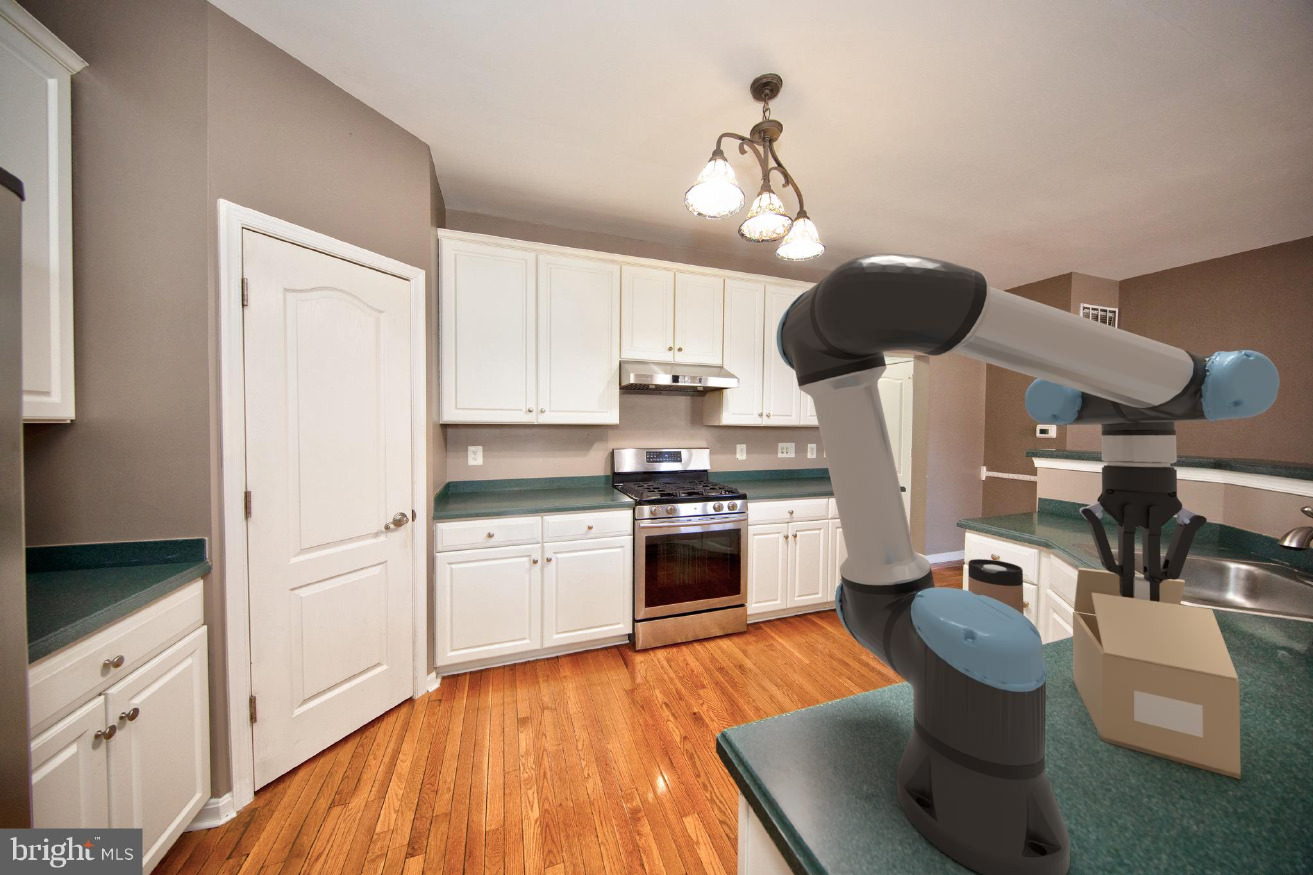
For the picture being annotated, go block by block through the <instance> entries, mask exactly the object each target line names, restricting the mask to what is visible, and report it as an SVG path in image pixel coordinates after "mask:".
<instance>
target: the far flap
mask: <svg viewBox="0 0 1313 875" xmlns="http://www.w3.org/2000/svg"><path fill="white" fill-rule="evenodd" d="M1135 576H1136V577H1143V578H1144V575H1143V574H1136V573H1135ZM1185 585H1186V581H1185V579H1180V578H1178V579H1177V580H1172V579H1169V580H1163V581H1162V582H1161V583H1160V601H1159V602H1163V603H1170V604H1177V605H1182V599H1183V594H1184V590H1185ZM1092 593H1099V594H1106V595H1113V596H1120V597H1122V596H1121V594H1120V586H1119V575H1118V574H1115V573H1112V572H1109V571H1108V570H1103V569H1094V568H1084V567H1078V568H1077V576H1076V587H1075V594H1074V595H1075V596H1074V604H1073V612H1077V613H1084V614H1090V615H1096V614H1095V609H1094V604H1093V599H1092V595H1091V594H1092Z"/></svg>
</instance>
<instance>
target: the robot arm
mask: <svg viewBox="0 0 1313 875" xmlns="http://www.w3.org/2000/svg"><path fill="white" fill-rule="evenodd" d="M776 346H777V351H778V353H779V355H780V357H781V359H782V360H783V362H784V363H785V365H786V366H788V367H789V368H790V369H792V370H793V371H794V372H795V376H796V377H795V378H796V380H797V385H798V390H800V391H802V392H804V394H806V395H808V396H810V398H811V399H812V401H813V406H814V410H815V414H816V415H815V416H816V419H817V423H818V427H819V433H820V437H821V442H822V447H823V450H824V455H825V460H826V464H827V468H828V472H829V473H828V474H829V477H830V481H831V486H832V487H831V488H832V491H833V495H834V500H835V504H836V509H837V514H838V517H839V524H840V527H841V530H842V531H841V532H842V535H843V540H844V543H845V549H846V554H847V557H846V559H844V561H842V563H841V564H840V566H839V573H840V577H841V578H840V579H839V580H840V583H839V585H837V586H836V588H835V594H834V603H835V604H834V605H835V609H836V614H837V615H838V619H839V621H840V623H841V624H842V626H843V627H844V628H845V630H846V631H847V632H848V633H849V635H850V636H851V637H852V638H853V639H854V640H855V641H856V643H858V644H859V645H860V646H861V647H863V648H865V649H866V650H867V651H869V652H870V653H871V654H872V655H874V656H875V657H876V658H877V659H879V660H880V661H881V662H882V663H883V664H885V665H886V666H888V667H889V668H890V670H892V671H894V673H896V674H897V675H898V676H900V677H901V678H902V679H903V680H905V682H907V683H908V684H909V685H911V687H912V690H913V694H912V695H913V700H912V701H913V728H912V730H911V733H910V736H909V738H908V741H907V743H906V746H905V748H904V751H903V753H902V755H901V758H900V760H899V763H898V766H897V770H896V771H897V772H896V792H897V798H898V802H899V804H900V807H901V809H902V811H903V813H904V814H905V816H906V817H907V819H908V821H909V822H910V823H911V824H912V825H913V826H914V828H915V829H916V830H917V831H918V832H919V833H920V834H921V835H922V836H923V837H925V839H926V840H927V841H928V842H929V843H930V844H932V845H933V846H934V847H936V848H937V849H938V850H939V851H941V852H942V853H943V854H945V855H946V856H948V857H949V858H951V859H953V860H955V861H956V862H958V863H959V864H961V865H963V866H964V867H966V868H969V869H970V870H972V871H975V872H977V873H978V874H981V875H1067V873H1068V872H1069V869H1070V866H1071V863H1070V862H1071V856H1070V855H1071V854H1070V853H1071V852H1070V851H1071V850H1070V849H1071V848H1070V847H1071V846H1070V845H1071V844H1070V837H1069V836H1070V835H1069V832H1068V829H1067V826H1066V822H1065V820H1064V817H1063V814H1062V812H1061V810H1060V807H1059V804H1058V802H1057V798H1056V797H1055V794H1054V791H1053V789H1052V786H1051V783H1050V781H1049V778H1048V775H1047V773H1046V753H1045V752H1046V697H1047V696H1046V695H1047V694H1046V693H1047V692H1046V682H1047V681H1046V679H1047V673H1048V672H1047V663H1046V660H1045V658H1044V648H1043V640H1042V636H1041V634H1040V632H1039V630H1038V628H1037V627H1036V625H1035V624H1034V623H1033V622H1032V621H1031V620H1030V619H1029V618H1028V617H1027V616H1025V614H1024V615H1023V614H1022V613H1020V612H1019V611H1017V610H1016V609H1014V608H1012V607H1010V606H1008V605H1006V604H1004V603H1002V602H1000V601H998V600H996V599H993V598H990V597H988V596H985V595H976V594H973V593H972V592H970V591H968V590H967V589H962V588H961V589H960V588H955V587H939V586H938V587H937V586H936V585H935V580H934V575H933V572H932V571H933V570H932V567H931V563H930V562H929V560H928V559H927V558H925V557H924V556H922V555H920V554H919V553H917V552H916V551H915V547H914V544H913V540H912V539H913V538H912V535H911V531H910V526H909V521H908V517H907V512H906V508H905V503H904V498H903V495H902V489H901V486H900V485H901V484H900V481H899V476H898V473H897V472H898V470H897V466H896V463H895V458H894V454H893V449H892V446H891V445H892V444H891V440H890V436H889V432H888V431H889V430H888V428H887V427H888V426H887V422H886V418H885V417H886V416H885V412H884V408H883V404H882V399H881V395H880V390H879V386H878V385H879V380H880V379H881V378H882V376H883V374H884V373H885V371H886V370H887V369H888V368H887V364H886V359H885V353H884V352H892V351H909V352H917V353H922V354H925V355H927V356H931V357H941V356H945V355H947V354H949V353H953V354H957V355H960V356H963V357H966V358H970V359H974V360H976V361H980V362H984V363H986V364H990V365H993V366H997V367H1000V368H1003V369H1006V370H1009V371H1013V372H1017V373H1020V374H1023V375H1027V376H1030V377H1032V378H1036V379H1035V380H1034V381H1033V382H1031V384H1030V385H1029V387H1027V390H1026V392H1025V395H1024V407H1025V410H1026V412H1027V414H1028V416H1029V417H1030V418H1031V419H1033V420H1034V421H1036V422H1037V423H1040V424H1043V425H1055V426H1057V427H1061V426H1093V425H1096V426H1097V425H1101V426H1100V427H1101V461H1103V462H1106V463H1107V464H1106V465H1103V466H1102V467H1101V493H1100V495H1099V496H1098V497H1097V499H1096V500H1097V502H1095V503H1093V504H1090V505H1088V506H1080V507H1079V508H1078V513H1079V514H1080V515H1081V516H1082V517H1083V518H1084V519H1085V520H1086V521H1087V524H1088V528H1089V530H1090V533H1091V536H1092V540H1093V542H1094V546H1095V548H1096V551H1097V554H1098V557H1099V559H1100V563H1101V566H1102V567H1103V568H1104V569H1105V571H1109V572H1112V573H1115V574H1118V575H1119V586H1120V594H1121V596H1122V597H1127V598H1135V599H1142V600H1149V601H1156V602H1159V601H1160V583H1161V582H1162V581H1163V580H1169V579H1172V580H1177V579H1180V576H1181V574H1182V571H1183V568H1184V565H1185V562H1186V560H1187V556H1188V555H1189V551H1190V548H1191V547H1192V543H1193V541H1194V538H1195V535H1196V533H1197V531H1199V530H1200V529H1201V528H1202V527H1203V526H1204V525H1205V524H1206V523H1207V522H1208V518H1207V517H1206V516H1203V515H1200V514H1198V513H1194V512H1193V511H1190V510H1188V509H1186V508H1184V507H1183V502H1181V500H1180V499H1179V497H1178V477H1177V476H1178V473H1177V469H1176V468H1175V467H1174V466H1171V464H1174V463H1177V460H1178V456H1177V454H1178V453H1177V435H1176V434H1177V432H1176V422H1207V421H1209V422H1212V423H1213V422H1215V423H1216V422H1219V421H1220V420H1222V421H1223V420H1235V419H1247V418H1253V417H1257V416H1259V415H1261V414H1263V413H1265V412H1266V411H1267V410H1269V409H1270V408H1271V407H1272V405H1273V404H1274V403H1275V401H1276V400H1277V397H1278V396H1279V395H1278V392H1279V388H1280V386H1281V384H1280V380H1281V379H1280V376H1279V375H1280V374H1279V371H1278V369H1277V367H1276V365H1275V364H1274V363H1273V362H1272V360H1271V359H1270V358H1269V357H1267V356H1266V355H1265V354H1263V353H1262V352H1261V353H1260V352H1258V351H1255V350H1246V349H1245V350H1244V349H1242V350H1234V351H1225V350H1222V351H1216V352H1215V353H1211V354H1200V353H1199V354H1198V353H1196V352H1192V351H1189V350H1185V349H1182V348H1179V347H1176V346H1172V345H1170V344H1166V343H1164V342H1160V341H1158V340H1154V339H1151V338H1148V337H1145V336H1142V335H1139V334H1136V333H1132V332H1129V331H1127V330H1124V329H1120V328H1118V327H1114V326H1111V325H1108V324H1106V323H1102V322H1100V321H1097V320H1093V319H1091V318H1087V317H1084V316H1081V315H1077V314H1075V313H1071V312H1070V311H1066V310H1063V309H1060V308H1056V307H1053V306H1050V305H1048V304H1045V303H1042V302H1038V301H1036V300H1032V299H1029V298H1026V297H1023V296H1020V295H1017V294H1015V293H1011V292H1007V291H1005V290H1003V289H998V288H996V287H992V286H990V283H989V280H988V278H987V276H986V275H985V274H984V273H983V272H980V271H977V270H976V269H971V268H968V267H966V266H964V265H963V266H962V265H960V264H956V263H953V262H950V261H946V260H942V259H941V260H940V259H936V258H932V257H926V256H921V255H914V254H913V255H912V254H901V253H875V254H874V253H873V254H866V255H862V256H858V257H855V258H852V259H850V260H848V261H846V262H844V263H841V264H839V265H838V266H836V267H835V268H834V269H833V270H832V271H830V272H829V273H828V274H827V275H826V276H825V277H824V278H823V279H821V280H820V281H818V282H817V283H816V284H815V285H813V286H812V287H811V288H810V289H808V290H805V291H804V292H802V293H801V294H799V296H797V297H796V298H795V299H794V300H793V301H792V302H791V304H790V305H789V306H788V307H787V309H786V310H785V311H784V312H783V314H782V316H781V318H780V320H779V323H778V325H777V328H776ZM1103 510H1104V512H1106V514H1107V515H1108V516H1109V517H1110V518H1111V519H1112V521H1114V522H1116V528H1117V562H1118V563H1117V562H1116V559H1115V556H1114V554H1113V551H1112V548H1111V545H1110V543H1109V539H1108V537H1107V533H1106V530H1105V528H1104V525H1103V523H1102V520H1100V519H1101V518H1103V516H1104V515H1103V512H1102V511H1103ZM1175 516H1176V518H1175V521H1176V522H1177V525H1176V527H1175V529H1174V531H1173V534H1172V537H1171V539H1170V542H1169V545H1168V547H1167V551H1166V554H1165V555H1164V559H1163V562H1162V563H1161V537H1162V527H1163V526H1165V525H1166V524H1167V523H1168V522H1169V521H1170V520H1171V519H1172V518H1174V517H1175ZM1137 527H1140V530H1141V539H1142V540H1141V542H1142V543H1141V546H1142V551H1141V552H1142V575H1144V578H1143V577H1136V576H1135V574H1136V567H1135V566H1136V565H1135V564H1136V559H1135V558H1136V553H1135V549H1136V546H1135V544H1136V542H1135V540H1136V539H1135V534H1136V533H1137V531H1136V530H1137V529H1136V528H1137ZM1161 564H1162V565H1161Z"/></svg>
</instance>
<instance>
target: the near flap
mask: <svg viewBox="0 0 1313 875" xmlns="http://www.w3.org/2000/svg"><path fill="white" fill-rule="evenodd" d="M1091 595H1092V599H1093V604H1094V609H1095V614H1096V618H1097V623H1098V628H1099V633H1100V638H1101V642H1102V647H1103V652H1104V654H1107V655H1112V656H1117V657H1122V658H1128V659H1133V660H1138V661H1143V662H1148V663H1153V664H1158V665H1163V666H1168V667H1174V668H1179V669H1184V670H1189V671H1194V672H1199V673H1204V674H1209V675H1214V676H1220V677H1225V678H1230V679H1235V680H1239V676H1238V674H1237V672H1236V669H1235V666H1234V663H1233V662H1232V661H1233V660H1232V659H1231V656H1230V653H1229V650H1228V647H1227V645H1226V642H1225V640H1224V637H1223V634H1222V632H1221V629H1220V627H1219V624H1218V622H1217V618H1216V616H1215V614H1214V612H1213V609H1210V608H1205V607H1198V606H1192V605H1191V606H1190V605H1183V604H1180V605H1177V604H1170V603H1163V602H1156V601H1149V600H1142V599H1135V598H1127V597H1120V596H1113V595H1106V594H1099V593H1092V594H1091Z"/></svg>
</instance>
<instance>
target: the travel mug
mask: <svg viewBox="0 0 1313 875" xmlns="http://www.w3.org/2000/svg"><path fill="white" fill-rule="evenodd" d="M967 566H968V569H967V570H968V572H967V573H968V579H967V580H968V581H967V582H968V590H967V591H970V592H972V593H973V594H976V595H985V596H988V597H990V598H993V599H996V600H998V601H1000V602H1002V603H1004V604H1006V605H1008V606H1010V607H1012V608H1014V609H1016V610H1017V611H1019V612H1020V613H1022V614H1023V615H1024V616H1025V614H1024V612H1025V611H1024V609H1025V608H1024V572H1023V568H1022V567H1021V566H1019V565H1017V564H1014V563H1011V562H1006V561H1001V560H994V559H986V558H984V559H983V558H981V559H980V558H978V559H976V558H975V559H971V560H969V561H968V565H967Z"/></svg>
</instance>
